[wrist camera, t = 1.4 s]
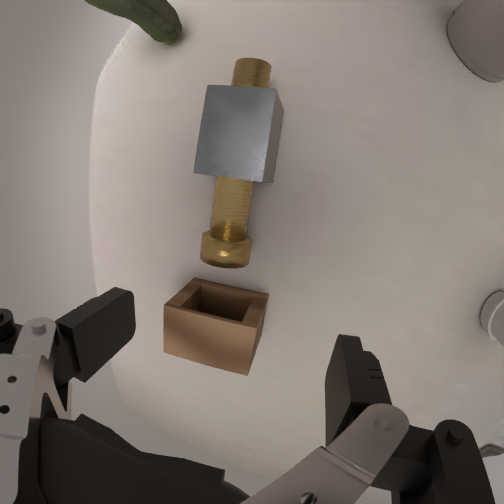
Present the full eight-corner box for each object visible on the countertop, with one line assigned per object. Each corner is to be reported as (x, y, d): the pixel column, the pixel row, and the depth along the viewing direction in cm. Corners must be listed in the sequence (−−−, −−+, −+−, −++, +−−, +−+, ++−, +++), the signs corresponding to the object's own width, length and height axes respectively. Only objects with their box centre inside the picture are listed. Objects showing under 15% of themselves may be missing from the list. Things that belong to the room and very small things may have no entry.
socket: (194, 278, 30) (163, 305, 23) (268, 294, 29) (256, 328, 22) (191, 318, 31) (163, 352, 24) (260, 335, 30) (247, 375, 23)
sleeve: (230, 105, 25) (207, 85, 19) (283, 110, 24) (276, 89, 18) (219, 174, 27) (193, 173, 20) (273, 182, 26) (262, 182, 20)
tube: (235, 71, 22) (222, 54, 18) (280, 75, 22) (275, 56, 18) (209, 249, 27) (192, 261, 23) (252, 258, 26) (242, 272, 22)
